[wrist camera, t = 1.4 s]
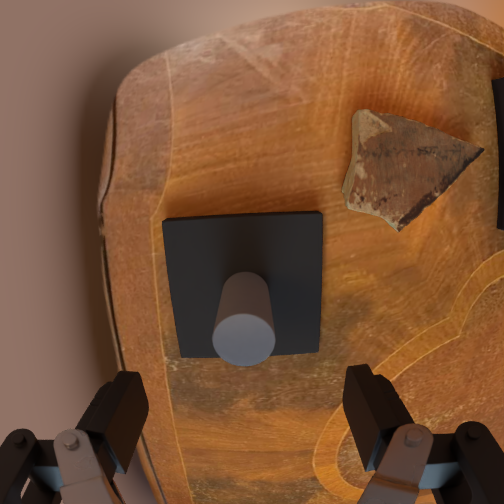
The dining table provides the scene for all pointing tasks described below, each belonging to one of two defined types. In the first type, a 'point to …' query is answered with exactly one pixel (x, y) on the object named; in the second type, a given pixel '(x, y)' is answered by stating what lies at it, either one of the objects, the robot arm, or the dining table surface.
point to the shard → (401, 166)
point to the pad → (246, 251)
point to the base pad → (500, 144)
